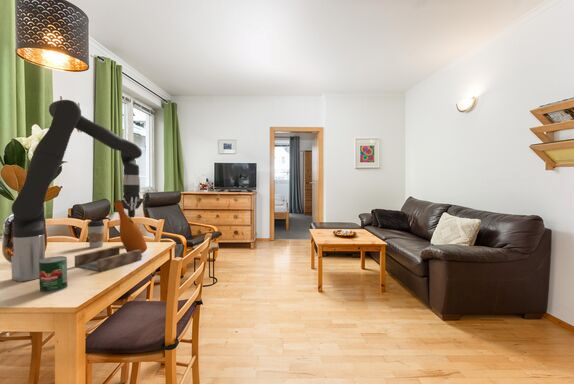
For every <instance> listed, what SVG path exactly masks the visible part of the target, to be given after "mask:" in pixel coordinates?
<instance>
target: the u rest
mask: <svg viewBox="0 0 574 384" xmlns="http://www.w3.org/2000/svg"><path fill="white" fill-rule="evenodd" d="M139 261H142V254H141V250H134V251H130V252H127V251H126V252H123V253H120V246H112V247H108V248H103V249H98V250H95V251H90V252H86V253H85V252H84V253H79V254H77V255H74V267H75V268H81V269H84V270H85V269H86V270H90V271H95V272H100V273H104V272H105V271H110V270H113V269H116V268H119V267H122V266H123V267H124V266H125V265H129V264H132V263H136V262H139Z"/></svg>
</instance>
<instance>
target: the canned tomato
mask: <svg viewBox="0 0 574 384" xmlns="http://www.w3.org/2000/svg"><path fill="white" fill-rule="evenodd" d="M38 279H39V293H42V294H49V293H51V294H52V293H56V292H60V291H62V290H65V289H67V288H68V285H69V284H68V256H60V255H59V256H50V257H45V259H41V260H39V278H38Z"/></svg>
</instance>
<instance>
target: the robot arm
mask: <svg viewBox="0 0 574 384" xmlns="http://www.w3.org/2000/svg"><path fill="white" fill-rule="evenodd" d="M48 106H49V107H48V112H49V114H50V116H51V117H52V120H51V123H50V126H49V127H48V130H47V132H46V133H45V134H44V135H43V136H42V138H41V139H40V140H39V142H38V143H37V145H36V146H35V149H34V151H33V153H32V156H31V159H30V162H29V164H28V167H27V171H26V176H25V180H24V182H23V185H22V187H21V189H20V191H19V193H18V194H17V197H16V198H15V200H14V201H13V202H12V204H11V213H12V214H13V229H12V236H13V239H12V240H13V255H11V257H10V259H11V260H10V261H11V281H16V282H19V283H20V282H25V281H33V280H36V279H39V260H41V259H45V258H46V250H45V249H46V246H45V205H44V203H45V200H46V195H47V193H48V189H49V187H50V185H51V183H52V182H53V180H54V179H55V177H56V175H57V174H58V172H59V170H60V167H61V165H62V163H63V159H64V157H65V153H66V151H67V148H68V146H69V145H68V144H69V141H70V138H71V136H72V133H73V132H74V130H75V129H76V130H79V131H80V132H83V133H85V134H86V135H88V136H89V137H92V138H93V139H95V140H96V141H99V142H100V143H102V144H103V145H105V146H107V147H108V148H110V149H112V150H115V151H119V152H120V158H121V162H122V166H123V175H122V176H123V178H122V194H123V195H122V198H121V199H118V201H121V202H122V205H123V206H124V210H127V216H128V217H129V216H130V217H131V219H132V218H135V216H136V210H137V209H139V207H140V206H141V205H142V203H143V201H144V199H143V198H141V196H140V193H141V192H140V191H141V190H140V189H141V188H140V186H141V184H140V182H141V181H140V180H141V179H140V167H139V164H138V163H136V160H135V159H139V158H140V157H142V154H143V152H142V149H141V147H140V146H138V145H137V144H136V143H133V142H132V141H129V140H127V139H124V138H122V137H121V136H120V135H118V134H116V133H115V132H113V131H112V130H110V129H108V128H106V127H104V126H102V125H99V124H98V123H95V122H94V121H92V120H89V119H88V118H86V117H85V116H83V115H82V110H81V108H80V105H79V104H77V102H75V101H74V100H70V99H61V100H55V101H53V102H52V103H51V104H50V105H48Z"/></svg>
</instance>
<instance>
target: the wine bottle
mask: <svg viewBox="0 0 574 384" xmlns="http://www.w3.org/2000/svg"><path fill="white" fill-rule="evenodd" d="M113 205H114V208H115V209H116V210H115V211H116V212H117V213H118V215H119V238H120V241H121V243H122V245H123V247H124V249H125V251H126V252H130V251H134V250H141V255H142V254H144V253H145V252H146V250H147V249H148V245H147V243H146V240H145V237H144V234H143V232H142V231H141V230H142V229H141V230H140V227H139V225H137V224H136V223H135V221H134V219H132V218H131V217H130V216H128V214H127V213H126V212H125V209H124V206H123V205H122V202H121V201H119V200H116V201H115V202H113Z"/></svg>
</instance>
